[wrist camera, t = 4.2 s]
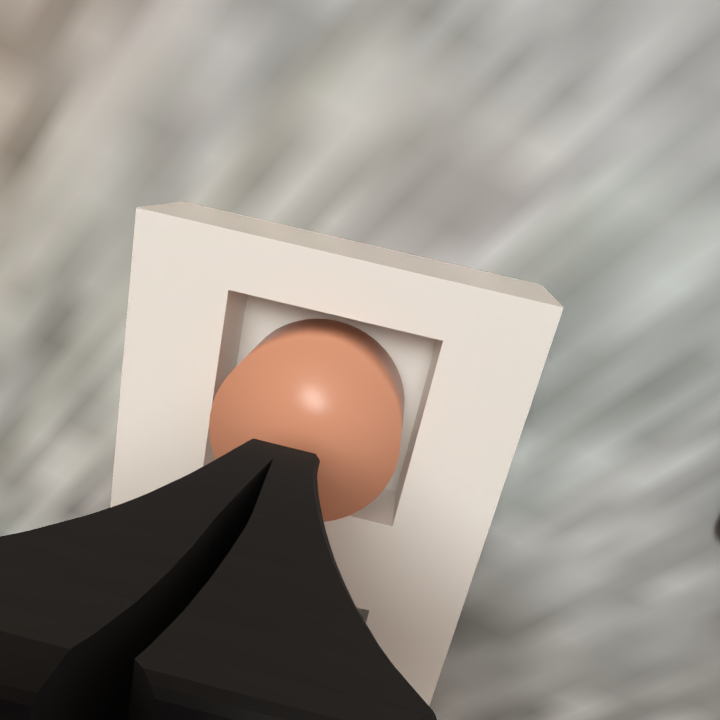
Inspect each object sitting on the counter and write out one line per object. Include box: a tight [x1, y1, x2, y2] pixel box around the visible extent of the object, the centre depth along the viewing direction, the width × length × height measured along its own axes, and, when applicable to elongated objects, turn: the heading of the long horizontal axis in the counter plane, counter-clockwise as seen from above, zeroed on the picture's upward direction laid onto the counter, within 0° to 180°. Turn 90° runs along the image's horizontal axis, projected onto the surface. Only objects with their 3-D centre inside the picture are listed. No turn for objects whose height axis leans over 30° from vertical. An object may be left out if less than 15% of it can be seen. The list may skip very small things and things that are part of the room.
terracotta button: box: [209, 319, 405, 522], centre depth 15 cm, size 4×4×2 cm
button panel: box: [110, 201, 564, 706], centre depth 19 cm, size 10×24×3 cm, turn 168°
